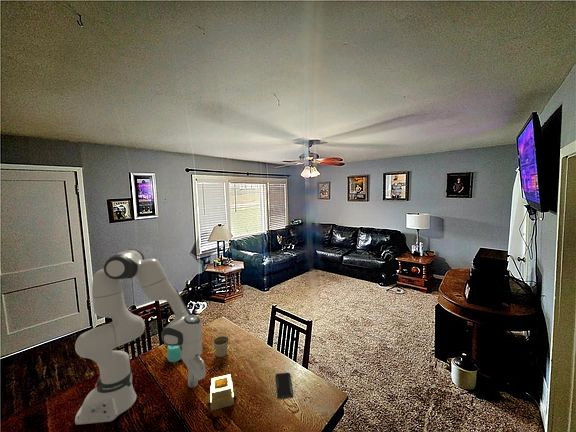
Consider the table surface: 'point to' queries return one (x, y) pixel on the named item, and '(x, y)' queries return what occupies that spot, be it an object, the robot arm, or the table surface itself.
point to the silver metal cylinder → (191, 379)
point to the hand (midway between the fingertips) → (193, 376)
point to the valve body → (221, 392)
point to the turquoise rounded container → (173, 353)
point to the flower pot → (221, 345)
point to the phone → (283, 385)
